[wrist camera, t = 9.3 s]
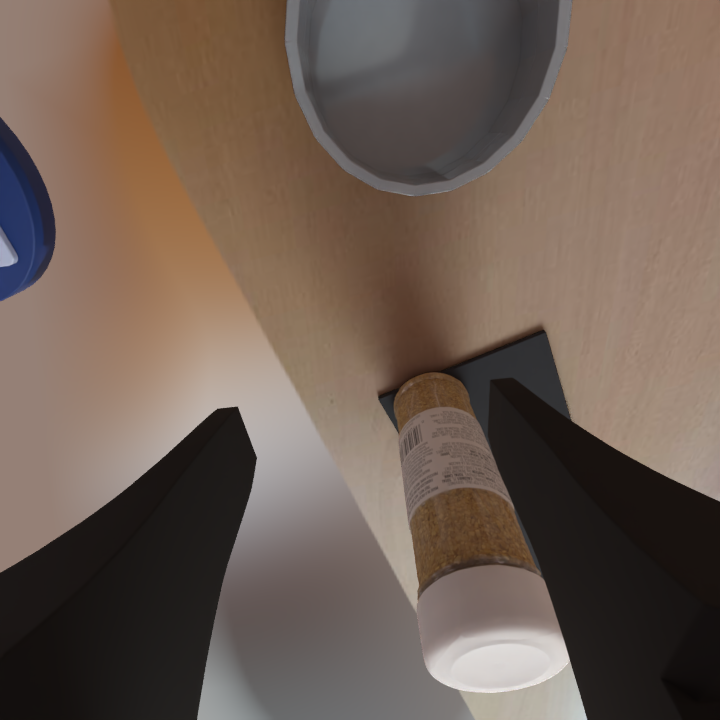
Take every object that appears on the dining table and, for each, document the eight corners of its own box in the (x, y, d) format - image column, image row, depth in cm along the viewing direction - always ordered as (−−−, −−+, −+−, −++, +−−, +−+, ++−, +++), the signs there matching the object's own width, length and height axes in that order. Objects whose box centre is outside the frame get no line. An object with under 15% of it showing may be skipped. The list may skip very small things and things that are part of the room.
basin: (323, 197, 18) (316, 211, 15) (274, -78, 13) (250, -137, 10) (520, 167, 17) (554, 175, 14) (539, -132, 13) (595, -213, 10)
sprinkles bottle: (433, 440, 25) (496, 710, 13) (376, 406, 24) (393, 675, 12) (485, 393, 23) (611, 661, 11) (427, 354, 22) (504, 613, 10)
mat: (378, 396, 23) (378, 399, 23) (543, 329, 21) (545, 332, 21) (499, 601, 35) (500, 605, 35) (614, 573, 33) (615, 577, 33)
